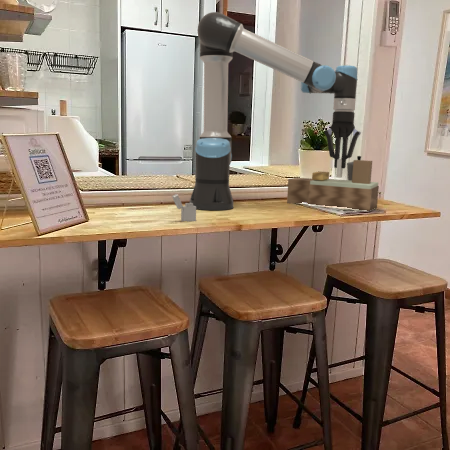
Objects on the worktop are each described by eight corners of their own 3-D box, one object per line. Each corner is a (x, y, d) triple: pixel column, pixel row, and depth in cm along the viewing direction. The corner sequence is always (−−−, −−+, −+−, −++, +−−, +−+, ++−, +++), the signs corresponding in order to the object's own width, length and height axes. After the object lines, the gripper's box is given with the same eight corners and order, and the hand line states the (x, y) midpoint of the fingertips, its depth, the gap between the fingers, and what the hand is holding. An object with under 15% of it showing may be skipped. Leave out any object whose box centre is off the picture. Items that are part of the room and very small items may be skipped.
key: (312, 179, 186) (312, 172, 185) (318, 177, 193) (318, 171, 192) (322, 180, 184) (323, 173, 184) (328, 178, 191) (329, 172, 191)
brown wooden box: (284, 203, 189) (285, 179, 187) (297, 199, 201) (298, 177, 200) (369, 212, 175) (371, 186, 174) (376, 207, 188) (379, 183, 186)
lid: (309, 188, 184) (311, 158, 182) (320, 185, 196) (322, 157, 194) (370, 193, 174) (372, 162, 172) (377, 190, 186) (380, 160, 184)
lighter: (193, 219, 151) (194, 193, 150) (196, 220, 150) (196, 194, 148) (171, 221, 148) (171, 193, 146) (173, 222, 146) (173, 194, 145)
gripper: (323, 110, 180) (318, 176, 185) (359, 110, 175) (354, 179, 179) (328, 111, 187) (324, 175, 191) (364, 111, 181) (359, 177, 186)
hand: (339, 177), depth 185 cm, fingers closed
